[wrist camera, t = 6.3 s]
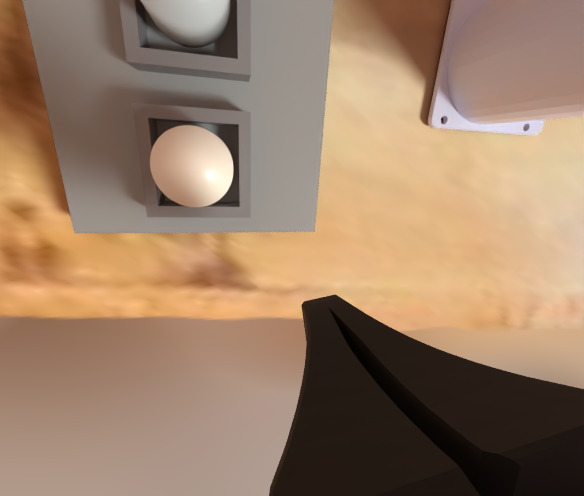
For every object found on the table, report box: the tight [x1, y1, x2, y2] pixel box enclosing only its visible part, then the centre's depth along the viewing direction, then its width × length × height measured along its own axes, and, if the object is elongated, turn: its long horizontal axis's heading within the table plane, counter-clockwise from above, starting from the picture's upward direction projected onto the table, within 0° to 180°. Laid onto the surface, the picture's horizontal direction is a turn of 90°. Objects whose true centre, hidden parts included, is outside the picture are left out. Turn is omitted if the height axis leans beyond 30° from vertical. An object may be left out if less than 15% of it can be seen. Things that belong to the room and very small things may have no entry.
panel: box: [22, 0, 334, 233], centre depth 13 cm, size 14×22×4 cm, turn 177°
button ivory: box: [150, 125, 233, 207], centre depth 14 cm, size 4×4×3 cm
